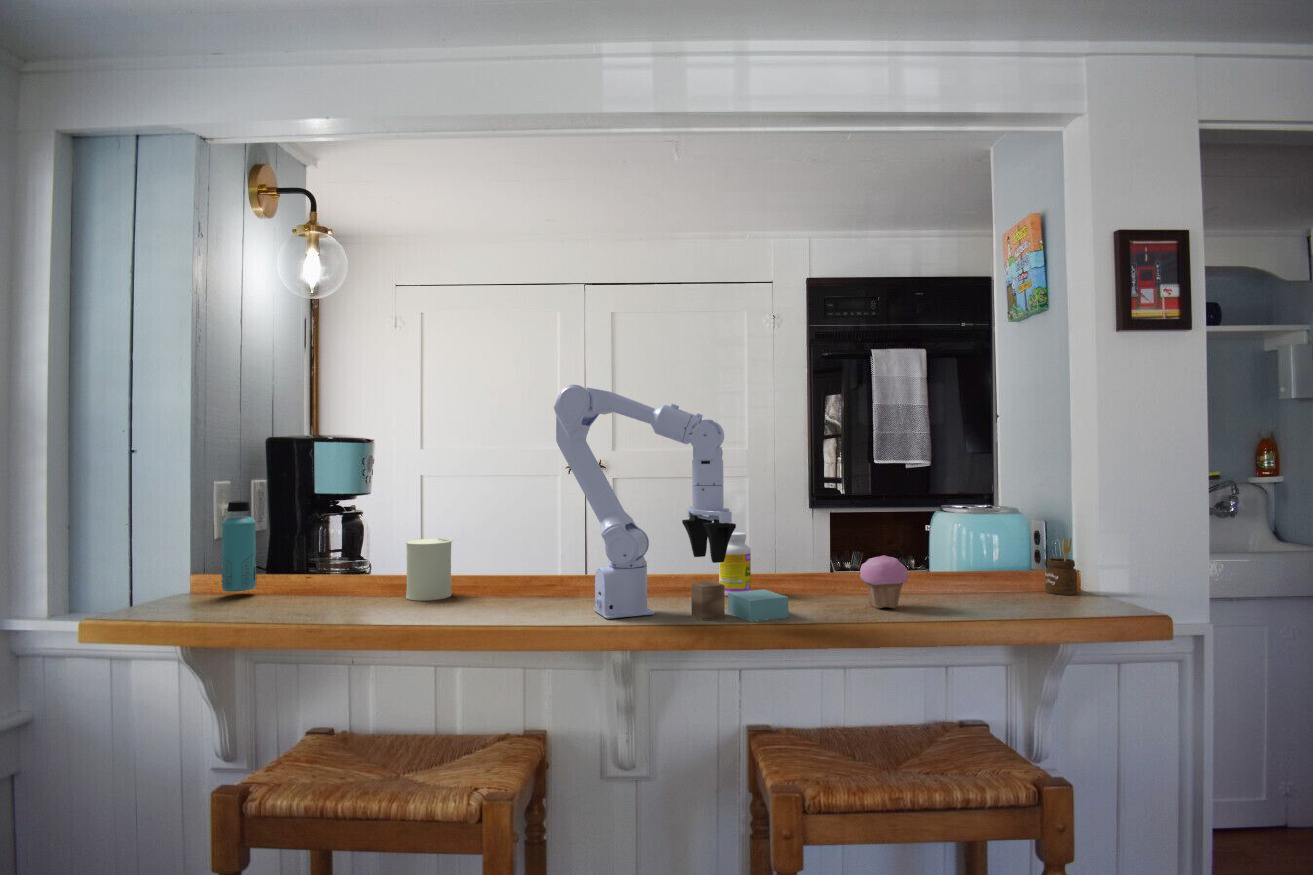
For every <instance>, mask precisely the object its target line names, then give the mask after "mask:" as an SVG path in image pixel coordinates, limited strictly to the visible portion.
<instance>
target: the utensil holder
mask: <svg viewBox="0 0 1313 875" xmlns="http://www.w3.org/2000/svg"><path fill="white" fill-rule="evenodd" d="M1054 541H1055V542H1054ZM1057 541H1058V544H1059V547H1061V544H1062V550H1059V552H1060V553H1059V554H1060V556H1059V557H1058V556H1057V554H1055V555H1054V553H1053V552H1054V551H1053V550H1052V554H1053V555H1052V556H1055V557H1050V558H1047V559H1046V566H1047V567H1046V568H1045V570H1044V572H1045V573H1044V574H1045V577H1044V582H1045V584H1044V585H1045V591H1046V593H1048V594H1052V595H1056V596H1057V595H1058V596H1073V595H1074V596H1075V595H1077V592H1078V573H1077V569H1076V568H1075V567H1076V562H1075V560H1074V559H1070V558H1067V556H1068V555H1067V554H1069V553H1070V552H1071V547H1072V538H1071V537H1070V538H1069V537H1067V538H1066V537H1063V541H1062V542H1061V540H1060V539H1058V540H1056V539H1055V540H1054V539H1053V541H1052V542H1051V544H1053V542H1054V543H1056V542H1057ZM1060 542H1061V544H1060ZM1054 547H1055V548H1054V550H1055V552H1057V549H1056V546H1054ZM1061 552H1062V553H1063V554H1061ZM1061 555H1064V556H1062V558H1061ZM1063 557H1064V558H1063Z"/></svg>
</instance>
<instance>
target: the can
mask: <svg viewBox="0 0 1313 875" xmlns="http://www.w3.org/2000/svg"><path fill="white" fill-rule="evenodd" d="M452 541H453V540H451V539H447V538H421V539H412V540H408V541H406V542H405V544H406V593H405V594H406V595H405V599H407V600H409V601H416V602H418V601H420V602H423V601H425V602H426V601H427V602H428V601H437V600H438V601H439V600H443V599H447V598H450V597H452V595H453V593H452Z"/></svg>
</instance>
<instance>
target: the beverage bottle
mask: <svg viewBox="0 0 1313 875" xmlns="http://www.w3.org/2000/svg"><path fill="white" fill-rule="evenodd" d="M227 505H228V506H227V512H230V513H231V512H232V513H235V512H236V513H238V512H250V511H251V507H250V501H248V500H247V501H246V500H234V501H229V502H228V503H227ZM256 524H257V522H256V520H255V519H254V518H253V517H252V516H231V517H230V516H229V517H227V518H225V519H224V520H223V522H222V523H221V533H222V534H221V540H222V542H221V544H222V545H221V546H222V547H221V548H220V550H221V558H220V559H221V568H220V570H221V575H220V576H221V583H220V584H221V588H222V591H223V592H229V593H230V592H236V593H237V592H245V591H250V590H254V589H256V587H257V584H258V583H257V580H258V578H257V559H258V557H257V541H256V538H257V537H256V533H257V532H256Z"/></svg>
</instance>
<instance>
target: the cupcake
mask: <svg viewBox="0 0 1313 875" xmlns="http://www.w3.org/2000/svg"><path fill="white" fill-rule="evenodd" d="M859 578H860V579H861V580H862V581H863V582H864V583H865V584H866V587H867V594H868V602H869V604H870V606H872V607H873V608H875V609H877V610H878V609H883V608H889V609H896V608H898V604H899V601H900V597H901V592H902V588H903V585H904V584H905V583H907V582H908V580H909V572H908V569H907V566H905V565H904V564H903V563H902V562H900V560H899V558H896V557H893V556H888V555H884V554H883V555H880V556H875V557H872V558H868V559H867V560H866V561H865V562H864V563H862V564H861V566H860V570H859Z"/></svg>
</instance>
